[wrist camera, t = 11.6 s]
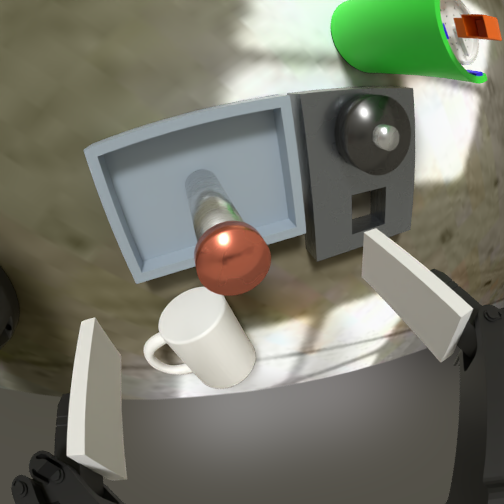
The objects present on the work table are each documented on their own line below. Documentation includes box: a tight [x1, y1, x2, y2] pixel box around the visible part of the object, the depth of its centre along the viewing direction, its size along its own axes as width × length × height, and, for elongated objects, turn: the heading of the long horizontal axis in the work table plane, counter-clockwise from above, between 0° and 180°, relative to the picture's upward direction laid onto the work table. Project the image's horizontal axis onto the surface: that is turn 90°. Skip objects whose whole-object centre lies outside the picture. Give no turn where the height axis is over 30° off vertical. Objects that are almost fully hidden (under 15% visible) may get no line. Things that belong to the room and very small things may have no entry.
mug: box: [144, 287, 256, 389], centre depth 33 cm, size 12×10×8 cm
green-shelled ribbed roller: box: [331, 0, 502, 83], centre depth 17 cm, size 9×8×18 cm
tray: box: [84, 95, 306, 284], centre depth 27 cm, size 18×14×3 cm
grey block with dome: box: [287, 86, 415, 261], centre depth 29 cm, size 14×18×7 cm
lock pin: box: [185, 169, 271, 296], centre depth 22 cm, size 4×4×14 cm
